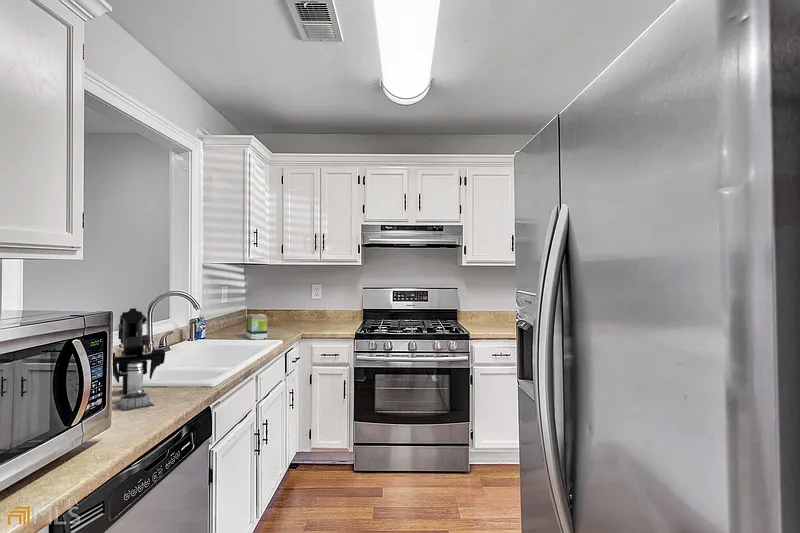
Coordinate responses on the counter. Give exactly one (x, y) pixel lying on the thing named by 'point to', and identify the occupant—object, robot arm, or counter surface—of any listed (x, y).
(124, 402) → the sleeve
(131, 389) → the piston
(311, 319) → the counter surface
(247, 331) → the tea box
